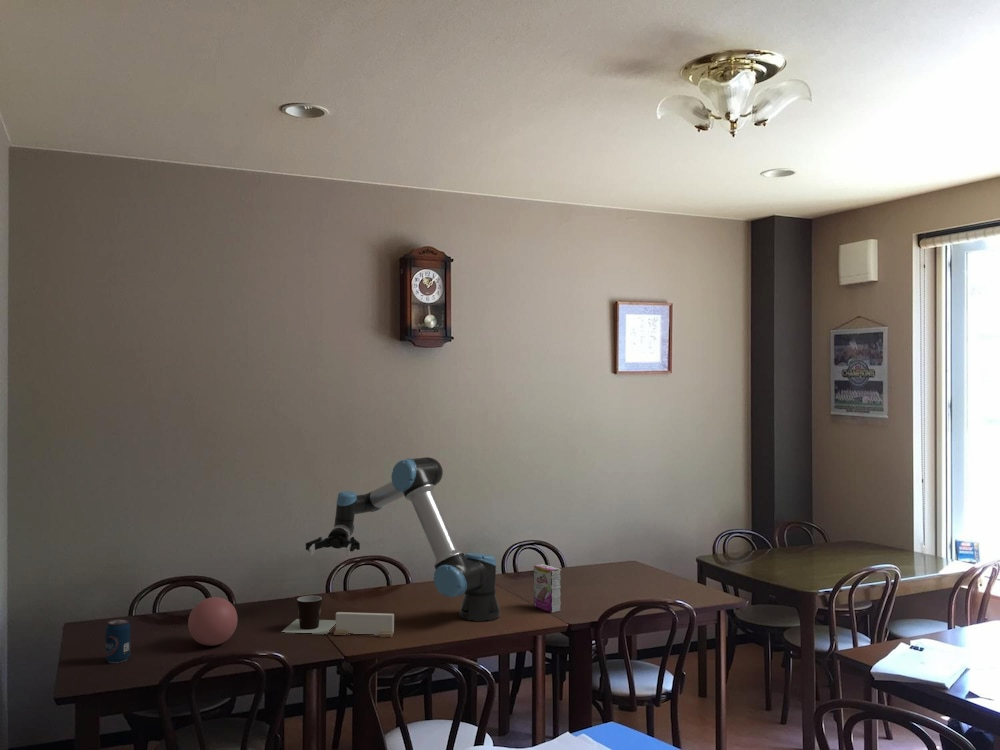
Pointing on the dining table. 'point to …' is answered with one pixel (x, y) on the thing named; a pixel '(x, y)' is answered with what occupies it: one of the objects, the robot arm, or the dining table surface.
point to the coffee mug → (309, 611)
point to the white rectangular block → (364, 623)
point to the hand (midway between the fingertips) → (328, 552)
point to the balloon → (212, 621)
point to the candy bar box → (547, 588)
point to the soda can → (117, 641)
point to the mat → (322, 629)
